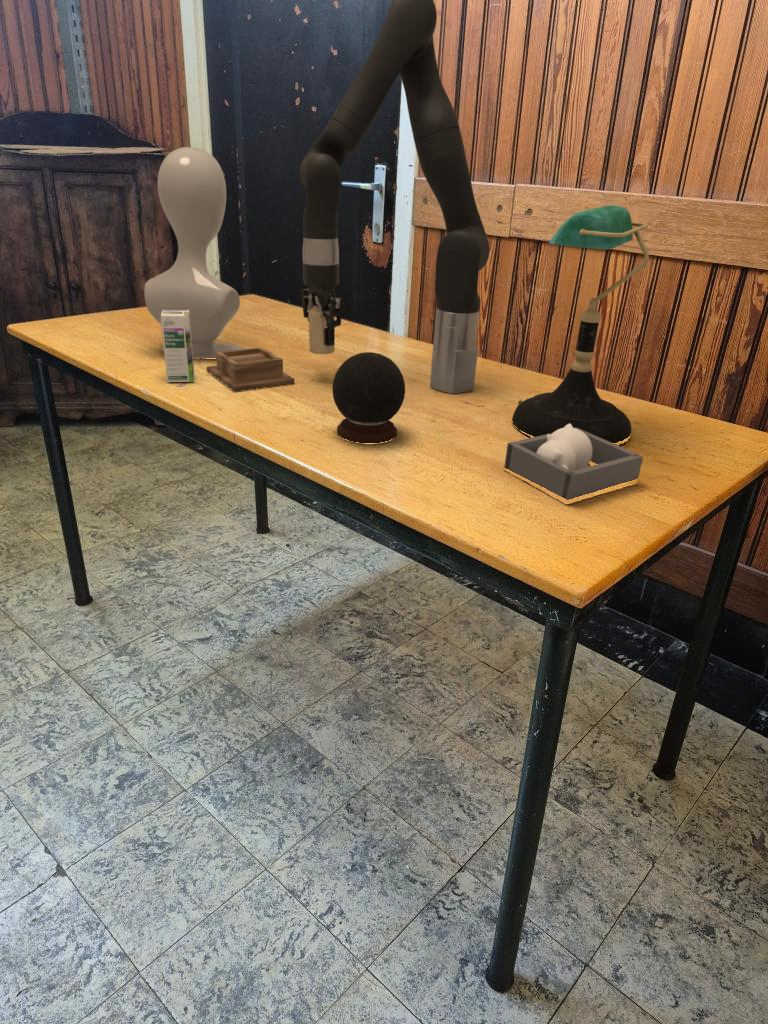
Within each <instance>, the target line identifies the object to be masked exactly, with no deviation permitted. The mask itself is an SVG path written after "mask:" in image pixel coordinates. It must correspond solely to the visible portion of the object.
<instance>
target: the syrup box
mask: <svg viewBox="0 0 768 1024" xmlns="http://www.w3.org/2000/svg"><path fill="white" fill-rule="evenodd" d="M160 327H161V334H162V335H161V336H162V343H163V344H162V346H163V345H164V352H163V354H164V362H165V363H164V364H165V365H164V366H165V374H166V377H165V378H166V383H167V382H193V383H194V381H195V367H194V359H193V350H192V338H191V325H190V312H189V310H186V311H166V310H163V311H162V313H161V324H160Z"/></svg>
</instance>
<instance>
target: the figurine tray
mask: <svg viewBox="0 0 768 1024" xmlns="http://www.w3.org/2000/svg"><path fill="white" fill-rule="evenodd" d="M576 429H579V428H576ZM579 430H581V429H579ZM581 431H582V432H584V433H585V434H586V435H587V436H588V438H589V439H590V441H591V444H592V449H593V452H592V458H591V460H590V461H592V462H594V463H596V464H598V465H594V466H586V467H585V468H582V469H579V470H575V471H570V470H568V469H566V468H564V467H562V466H560V465H558V464H556V463H554V462H552V461H550V460H548V459H546V458H544V457H542V456H540V455H538V454H536V452H537V450H538V449H539V447H540V446H541V445H542V444H544V443H546V442H547V434H546V435H542V436H537V437H533V438H531V437H529V438H524V439H519V440H516V441H511V442H507V445H506V452H505V454H506V455H505V460H504V467H503V469H504V468H506V469H509V470H510V471H512V472H514V473H516V474H518V475H520V476H522V477H524V478H526V479H528V480H530V481H531V482H534V483H536V484H538V485H540V486H541V487H544V488H546V489H547V490H549V491H551V492H553V493H555V494H557V495H559V496H561V497H563V498H565V499H567V500H569V499H573V498H575V497H579V496H582V495H585V494H589V493H593V492H596V491H598V490H602V489H605V488H608V487H611V486H615V485H618V484H621V483H625V482H628V481H632V480H635V479H638V480H639V476H640V473H641V467H642V463H643V460H644V459H643V458H644V456H643V455H640V454H638V453H636V452H635V451H632V450H630V449H627V448H625V447H623V446H621V445H620V446H618V445H616V444H613V443H611V442H609V441H606V440H604V439H602V438H600V437H597V436H595V435H593V434H590V433H588V432H586V431H584V430H581ZM551 434H552V433H551ZM551 434H550V435H551Z"/></svg>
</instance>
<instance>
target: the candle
mask: <svg viewBox="0 0 768 1024" xmlns="http://www.w3.org/2000/svg"><path fill="white" fill-rule="evenodd" d="M324 312H325V313H328V312H329V311H324ZM328 319H329V317H327V320H328ZM334 332H335V330H334ZM308 333H309V334H308V335H309V336H308V339H309V341H308V343H309V352H310V353H312V354H315V355H329V354H333V353H334V352H335V350H336V348H335V347H336V346H335V341H334V345H331V346H326V345H324V324H323V318H321V317H320V314H319V310H318V307H317V306H315V305H314V306H313V307H312V309H311V310H310V311H309V322H308Z"/></svg>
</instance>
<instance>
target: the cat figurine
mask: <svg viewBox="0 0 768 1024" xmlns="http://www.w3.org/2000/svg"><path fill="white" fill-rule="evenodd" d="M592 452H593V449H592V444H591V441H590V439H589V438H588V436H587V435H586V434H585V433H584V432H582V431H581V430H579V429H576V428H573V427H572V425H571V424H567V425H566V426H565V427H564V428H561V429H558V430H556V431H555V432H553V433H552V434H551V435H550V434H547V442H546V443H544V444H542V445H541V446H540V447H539V449H538V450H537V452H536V454H538V455H540V456H542V457H544V458H546V459H548V460H550V461H552V462H554V463H556V464H558V465H560V466H562V467H564V468H566V469H568V470H570V471H575V470H579V469H582V468H586V467H588V466H589V465H588V464H589V462H590V460H591V458H592Z"/></svg>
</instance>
